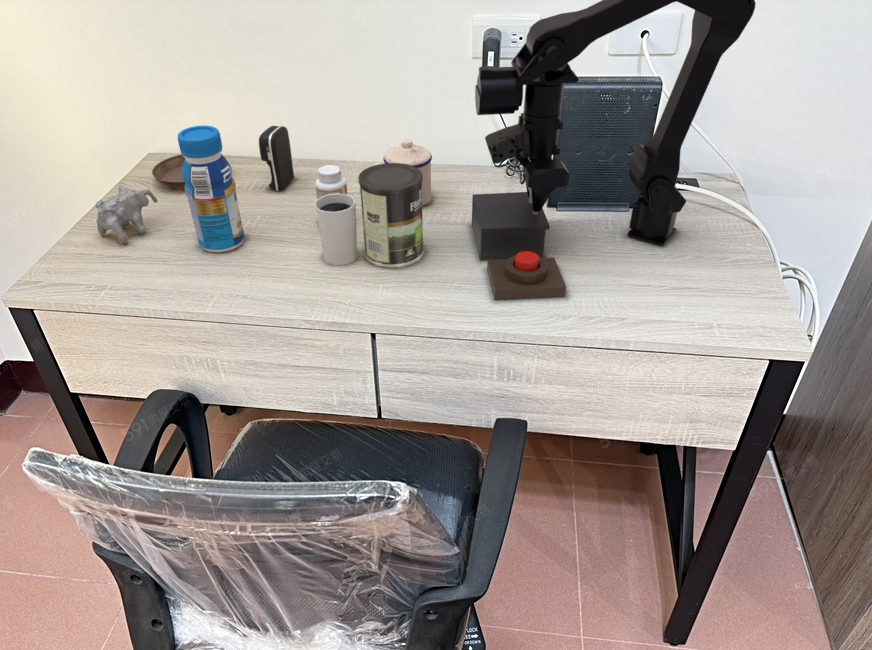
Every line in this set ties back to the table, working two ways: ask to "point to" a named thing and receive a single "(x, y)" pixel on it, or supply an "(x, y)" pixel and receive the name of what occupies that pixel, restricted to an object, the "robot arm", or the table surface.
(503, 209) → the lid
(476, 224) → the black box
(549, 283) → the brown button base
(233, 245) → the beverage bottle
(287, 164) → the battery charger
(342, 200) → the white coffee mug
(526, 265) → the release button
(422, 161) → the cream enamel canister
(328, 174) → the supplement bottle
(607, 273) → the table surface
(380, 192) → the coffee can
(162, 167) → the saucer
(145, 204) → the gray elephant figurine
